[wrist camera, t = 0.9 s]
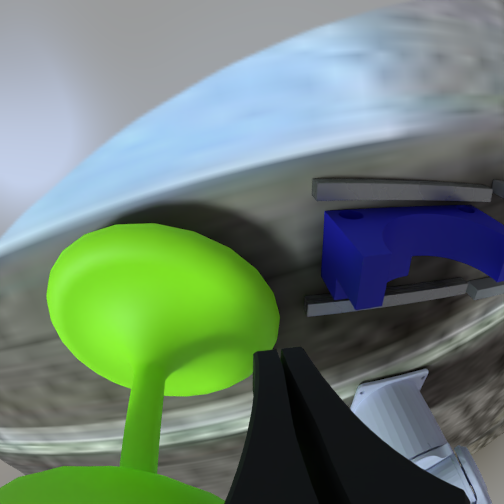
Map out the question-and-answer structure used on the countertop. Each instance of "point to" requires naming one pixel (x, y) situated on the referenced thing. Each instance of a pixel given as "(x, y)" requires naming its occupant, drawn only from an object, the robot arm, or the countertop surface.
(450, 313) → the countertop surface
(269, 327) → the wineglass
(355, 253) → the cable clip
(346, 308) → the pair of grey bars
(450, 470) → the robot arm
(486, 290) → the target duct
